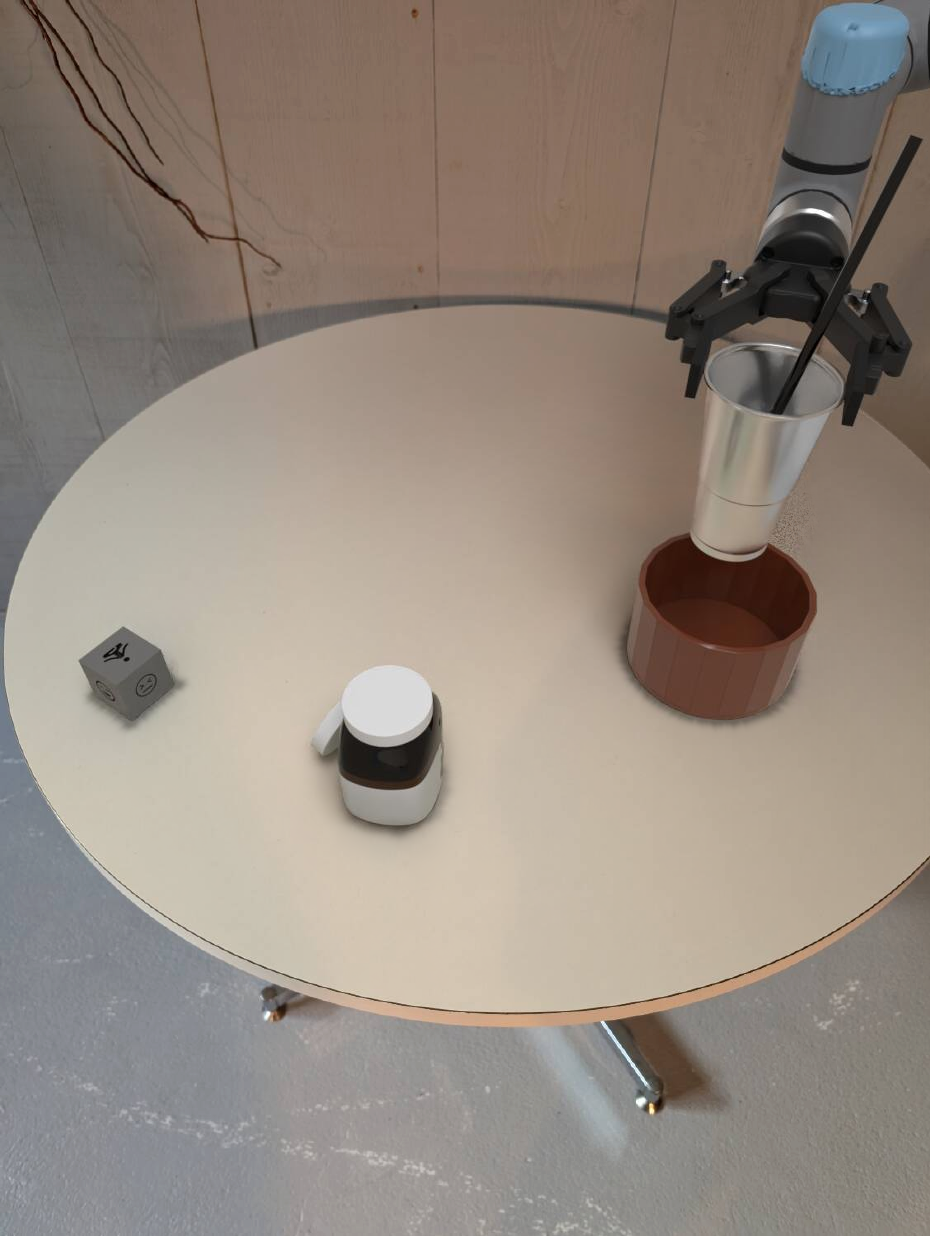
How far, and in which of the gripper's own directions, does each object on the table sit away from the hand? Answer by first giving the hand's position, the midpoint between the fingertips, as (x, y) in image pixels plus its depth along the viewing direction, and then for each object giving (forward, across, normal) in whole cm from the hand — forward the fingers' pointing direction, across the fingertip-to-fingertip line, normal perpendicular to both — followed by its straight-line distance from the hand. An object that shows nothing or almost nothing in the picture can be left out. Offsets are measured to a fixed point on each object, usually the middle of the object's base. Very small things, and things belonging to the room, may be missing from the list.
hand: (771, 394), depth 62 cm
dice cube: (+19, +48, -30) cm, 60 cm away
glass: (-4, 0, -16) cm, 17 cm away
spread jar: (+20, +24, -30) cm, 43 cm away
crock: (-3, -1, -30) cm, 30 cm away
